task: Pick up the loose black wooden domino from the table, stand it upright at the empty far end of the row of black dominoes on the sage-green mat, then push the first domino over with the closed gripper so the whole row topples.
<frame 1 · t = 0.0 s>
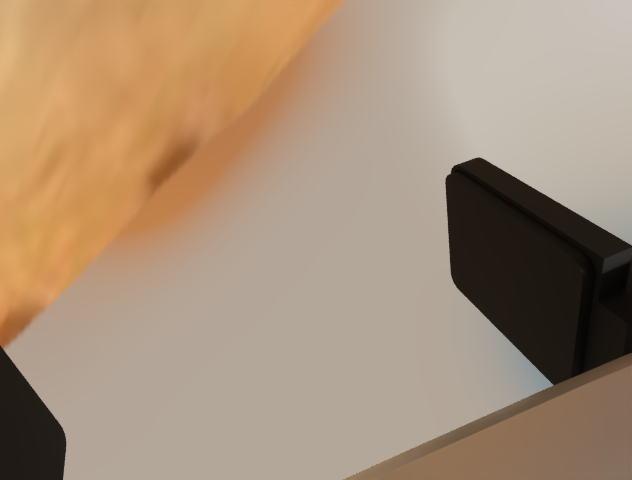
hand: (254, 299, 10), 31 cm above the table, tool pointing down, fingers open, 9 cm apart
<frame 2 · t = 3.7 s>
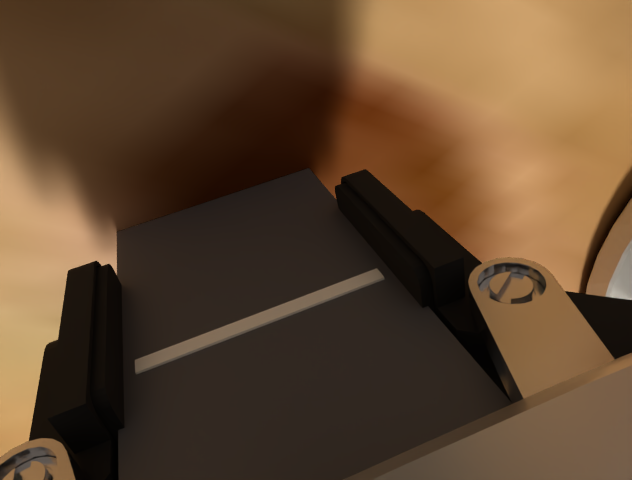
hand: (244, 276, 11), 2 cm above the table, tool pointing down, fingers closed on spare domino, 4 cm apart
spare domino: (225, 225, 13), on the table, touching gripper
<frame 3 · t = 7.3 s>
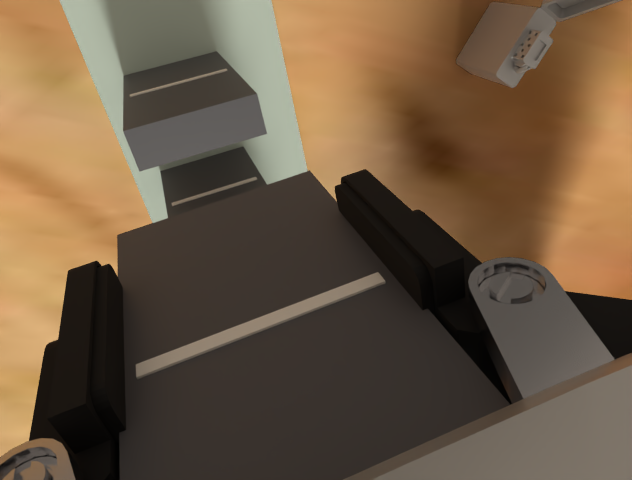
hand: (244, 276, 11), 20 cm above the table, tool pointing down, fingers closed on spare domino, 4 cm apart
lighter: (493, 16, 32), on the table
domino 4: (175, 78, 27), resting on mat
domino 3: (206, 170, 30), resting on mat
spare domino: (225, 228, 13), point 18 cm above the table, touching gripper
mat: (219, 155, 31), on the table
when the fingers open (4 cm above the table, at t = 11.2 s): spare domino stays where it is, resting on mat.
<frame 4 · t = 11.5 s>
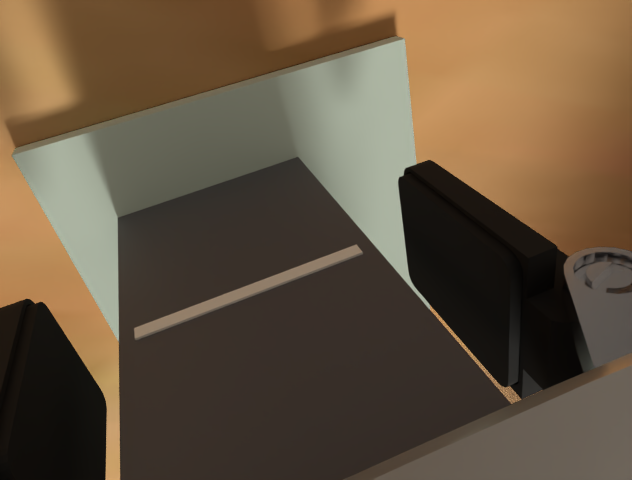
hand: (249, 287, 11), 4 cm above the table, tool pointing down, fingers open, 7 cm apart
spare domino: (219, 211, 14), resting on mat
mat: (318, 419, 20), on the table
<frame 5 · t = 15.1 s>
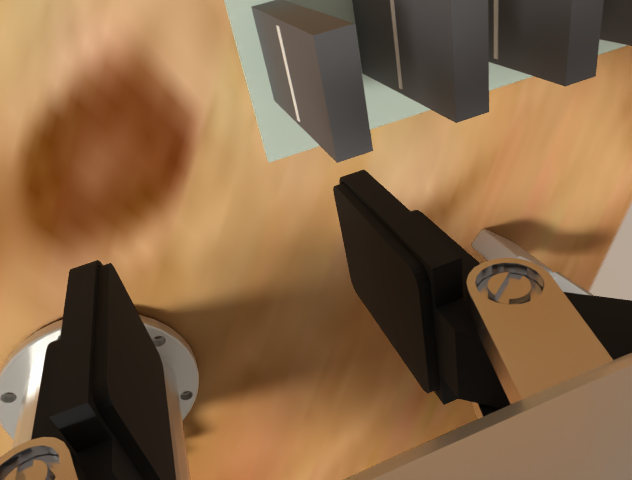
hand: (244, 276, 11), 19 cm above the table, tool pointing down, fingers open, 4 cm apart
lighter: (503, 248, 42), on the table
domino 3: (455, 0, 30), resting on mat
domino 1: (277, 51, 28), resting on mat
mat: (459, 15, 31), on the table
domino 2: (369, 25, 29), resting on mat
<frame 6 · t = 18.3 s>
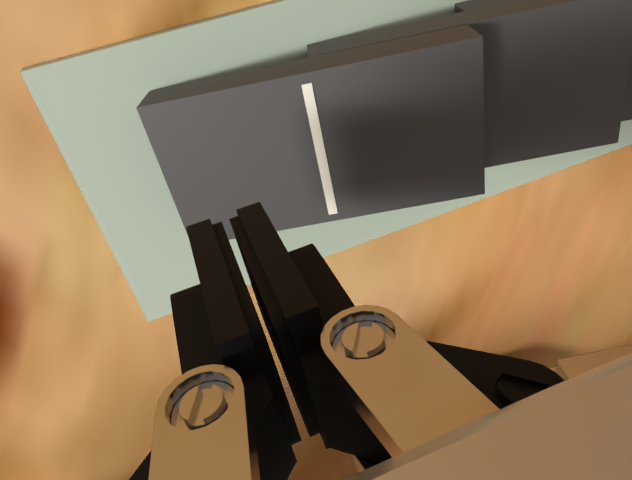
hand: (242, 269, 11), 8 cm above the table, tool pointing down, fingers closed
domino 3: (463, 79, 19), point 1 cm above the table, tilted 72°, touching domino 2, domino 4, mat
domino 1: (171, 171, 17), point 1 cm above the table, tilted 72°, touching domino 2, mat
mat: (434, 100, 20), on the table
domino 2: (321, 123, 18), point 1 cm above the table, tilted 73°, touching domino 1, domino 3, mat
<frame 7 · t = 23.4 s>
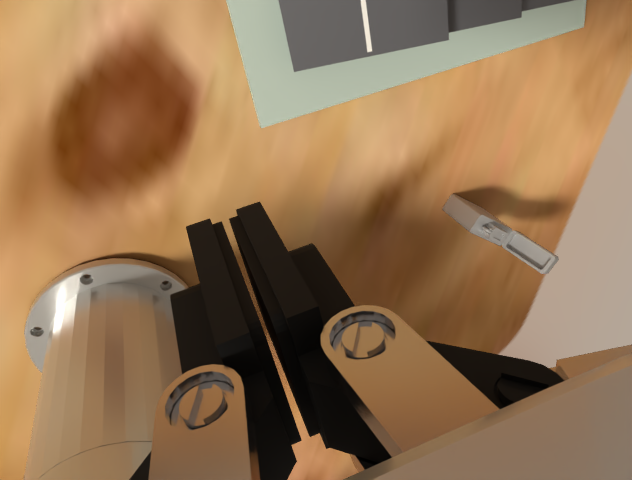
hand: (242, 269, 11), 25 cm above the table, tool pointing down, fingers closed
lighter: (472, 213, 47), on the table
domino 1: (285, 29, 32), point 1 cm above the table, tilted 72°, touching domino 2, mat
mat: (424, 2, 36), on the table
domino 2: (362, 7, 33), point 1 cm above the table, tilted 73°, touching domino 1, domino 3, mat
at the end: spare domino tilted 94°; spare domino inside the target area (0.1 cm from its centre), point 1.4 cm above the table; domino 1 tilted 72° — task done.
